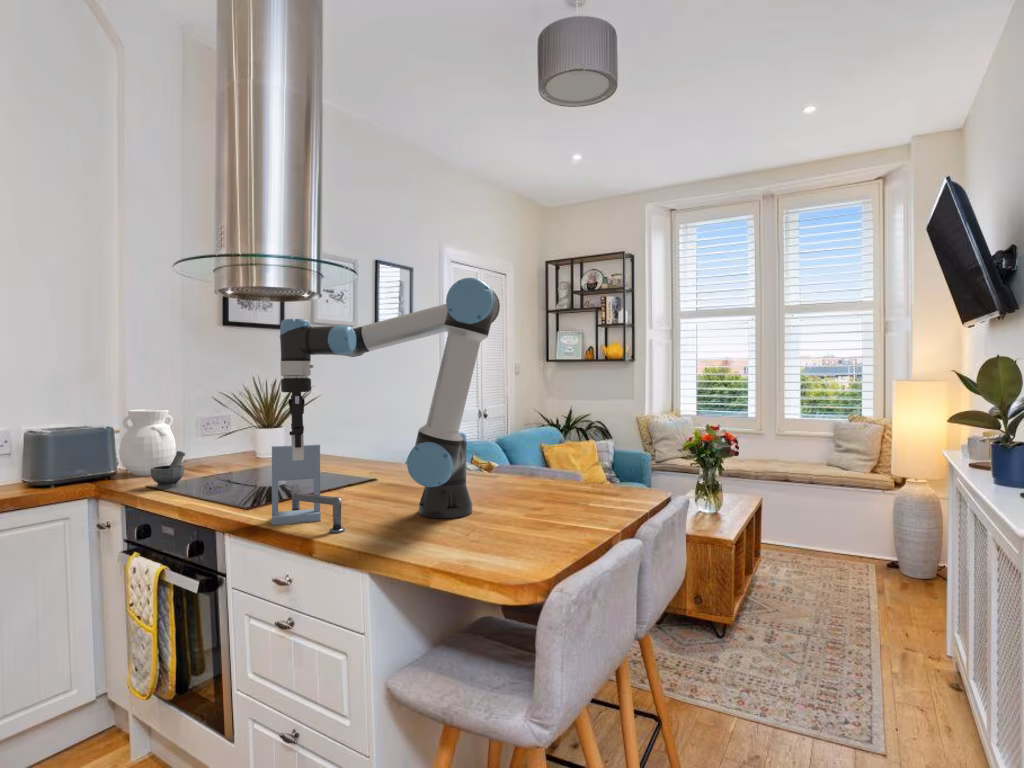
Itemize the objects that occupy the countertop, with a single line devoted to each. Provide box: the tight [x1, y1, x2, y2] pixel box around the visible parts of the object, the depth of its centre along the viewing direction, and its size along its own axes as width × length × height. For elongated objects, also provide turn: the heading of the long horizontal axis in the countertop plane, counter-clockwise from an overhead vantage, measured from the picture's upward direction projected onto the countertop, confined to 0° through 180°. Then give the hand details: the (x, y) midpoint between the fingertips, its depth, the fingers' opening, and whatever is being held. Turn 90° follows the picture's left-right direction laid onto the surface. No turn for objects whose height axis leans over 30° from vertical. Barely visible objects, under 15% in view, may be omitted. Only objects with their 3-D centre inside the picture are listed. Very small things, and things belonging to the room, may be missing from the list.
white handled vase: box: [118, 408, 177, 477], centre depth 219 cm, size 19×18×25 cm
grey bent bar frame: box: [291, 484, 346, 534], centre depth 147 cm, size 27×8×8 cm, turn 46°
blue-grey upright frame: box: [271, 444, 322, 526], centre depth 151 cm, size 6×12×20 cm, turn 112°
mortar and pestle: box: [150, 450, 186, 490], centre depth 194 cm, size 11×9×12 cm
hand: (297, 456), depth 151 cm, fingers open, 13 cm apart
